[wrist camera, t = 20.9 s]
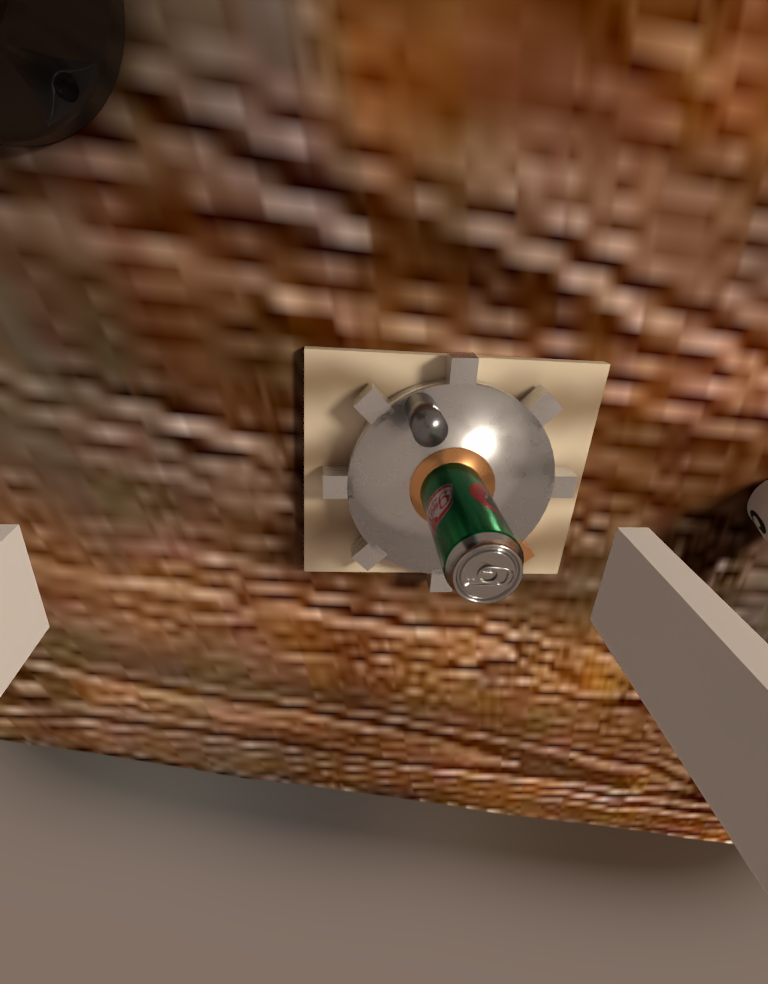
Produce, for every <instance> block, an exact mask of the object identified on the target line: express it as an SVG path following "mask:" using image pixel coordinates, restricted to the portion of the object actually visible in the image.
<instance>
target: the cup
mask: <svg viewBox="0 0 768 984" xmlns="http://www.w3.org/2000/svg"><path fill="white" fill-rule="evenodd" d="M747 512H748V515H749V516H750V518H751V520H752V521H753V523H754V524H755V526H756V527H757V529H758V530H759V532H760V533H761V535H762V536H763V537H764V538H765V539H766V540H767V542H768V480H766V481H765V482H763V483H762V484H760V485H759V486H758V487H757V488H756V489H755V490H754V492H753V493H752V494H751V496H750V498H749V500H748V504H747Z"/></svg>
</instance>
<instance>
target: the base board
mask: <svg viewBox="0 0 768 984" xmlns="http://www.w3.org/2000/svg"><path fill="white" fill-rule="evenodd" d="M446 356H447V353H428V352H409V351H390V350H371V349H352V348H333V347H313V346H305V348H304V571H311V572H417V571H413V570H410V569H406V568H404V567H401V566H399V565H396V564H394V563H393V562H391V561H389V560H387V559H386V558H383V559H382V560H381V561H379V562H378V563H377V564H376V565H375V566H373V567H372V568H371V569H370V570H369V571H367V570H366V569H364V568H363V567H362V566H361V565H360V564H358V563H357V562H356V561H355V560H354V559H352V558H351V545H352V544H353V543H354V542H355V541H356V540H358V539H359V538H360V537H361V536H362V535H361V534H360V532H359V530H358V529H357V527H356V525H355V523H354V520H353V518H352V515H351V512H350V508H349V504H348V499H323V466H347V465H348V460H349V456H350V452H351V449H352V446H353V444H354V441H355V439H356V437H357V435H358V434H359V432H360V430H361V428H362V427H363V425H364V424H365V423H366V421H367V420H366V419H365V418H364V417H363V416H362V415H361V414H360V413H359V412H358V411H357V410H356V409H355V408H354V407H353V398H355V397H356V396H357V395H358V394H359V393H360V392H361V391H362V390H363V389H364V388H365V387H366V386H367V385H368V384H369V383H370V382H372V383H373V384H374V385H375V386H376V387H377V388H378V389H379V390H380V391H381V392H382V393H383V394H384V395H385V396H386V397H387V398H388V399H390V398H391V397H393V396H395V395H396V394H398V393H399V392H401V391H403V390H405V389H407V388H409V387H412V386H414V385H416V384H420V383H423V382H426V381H429V380H435V379H440V378H445V367H446ZM476 356H477V357H478V358H479V364H478V373H477V380H480V381H484V382H487V383H490V384H493V385H495V386H498V387H499V388H501V389H503V390H505V391H507V392H509V393H510V394H511V395H513V396H514V397H515V398H516V399H518V400H519V401H521V400H522V399H523V398H524V397H526V396H527V395H528V394H529V393H530V392H531V391H533V390H534V389H535V388H536V387H537V386H538V385H541V386H542V387H544V388H545V389H546V390H548V391H549V392H550V393H551V395H552V396H553V397H554V398H555V400H556V401H557V402H558V403H559V405H560V406H561V407H562V409H563V410H562V411H561V412H560V413H559V414H557V415H556V416H555V417H554V418H553V419H551V420H550V421H549V422H548V423H547V424H545V425H544V426H543V428H544V430H545V432H546V434H547V436H548V438H549V440H550V443H551V447H552V450H553V455H554V461H555V467H569V468H570V469H571V470H572V471H573V472H574V473H575V474H576V475H577V476H578V479H577V483H576V488H575V492H574V497H573V498H550V501H549V503H548V506H547V508H546V510H545V512H544V514H543V516H542V518H541V519H540V521H539V523H538V524H537V525H536V527H535V528H534V529H533V531H532V532H531V533H530V534H529V535H528V536H527V537H526V539H525V541H526V542H527V543H528V545H529V547H530V548H531V550H532V552H533V553H534V555H535V556H534V557H532V558H531V559H530V560H528V561H527V562H526V563H524V565H523V573H530V574H557V572H558V568H559V564H560V560H561V556H562V552H563V548H564V545H565V541H566V537H567V533H568V529H569V525H570V521H571V517H572V513H573V509H574V505H575V501H576V497H577V494H578V490H579V486H580V482H581V478H582V474H583V470H584V466H585V462H586V458H587V454H588V450H589V446H590V442H591V439H592V435H593V431H594V427H595V423H596V419H597V415H598V411H599V407H600V403H601V399H602V395H603V391H604V387H605V384H606V380H607V376H608V372H609V368H610V364H608V363H606V362H601V361H582V360H563V359H544V358H524V357H505V356H486V355H476ZM420 573H422V572H420Z"/></svg>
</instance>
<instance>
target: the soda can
mask: <svg viewBox="0 0 768 984" xmlns="http://www.w3.org/2000/svg"><path fill="white" fill-rule="evenodd" d="M420 498H421V502H422V506H423V509H424V512H425V515H426V518H427V522H428V525H429V528H430V531H431V534H432V538H433V541H434V544H435V547H436V551H437V554H438V557H439V560H440V563H441V567H442V570H443V573H444V576H445V579H446V581H447V583H448V584H449V586H450V587H451V588H452V589H453V590H454V591H456V592H457V593H459V594H460V596H462V597H463V598H464V599H466V600H468V601H470V602H473V603H478V604H487V603H493V602H497V601H500V600H502V599H504V598H506V597H507V596H509V595H510V594H511V593H512V592H513V591H514V590H515V589H516V588H517V587H518V585H519V584H520V582H521V579H522V576H523V565H524V554H523V551H522V548H521V546H520V544H519V543H518V541H517V539H516V537H515V536H514V534H513V532H512V531H511V529H510V527H509V525H508V524H507V522H506V520H505V519H504V517H503V515H502V513H501V512H500V510H499V508H498V507H497V505H496V503H495V501H494V500H493V498H492V496H491V495H490V493H489V491H488V489H487V488H486V486H485V484H484V483H483V481H482V479H481V477H480V476H479V474H478V473H477V472H476V471H475V470H474V469H473V468H471V467H470V466H468V465H465V464H462V463H447V464H443V465H441V466H439V467H437V468H435V469H434V470H432V471H431V472H430V473H429V474H428V475H427V476H426V478H425V479H424V481H423V483H422V486H421V490H420Z"/></svg>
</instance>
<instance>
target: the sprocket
mask: <svg viewBox="0 0 768 984" xmlns="http://www.w3.org/2000/svg"><path fill="white" fill-rule="evenodd" d="M478 364H479V358H478V357H477V356H476V355H475V354H474V353H465V352H447V356H446V367H445V378H440V379H435V380H429V381H426V382H423V383H420V384H416V385H414V386H412V387H409V388H407V389H405V390H403V391H401V392H399V393H398V394H396V395H395V396H393V397H391V398H390V399H388V398H387V397H386V396H385V395H384V394H383V393H382V392H381V391H380V390H379V389H378V388H377V387H376V386H375V385H374V384H373V383H372V382H370V383H369V384H368V385H367V386H366V387H365V388H364V389H363V390H362V391H361V392H360V393H359V394H358V395H357V396H356V397H355V398H353V407H354V408H355V409H356V410H357V411H358V412H359V413H360V414H361V415H362V416H363V417H364V418H365V419H366V420H367V421H366V423H365V424H364V425H363V427H362V428H361V430H360V432H359V434H358V435H357V437H356V439H355V441H354V444H353V446H352V449H351V452H350V456H349V460H348V465H347V466H323V499H348V504H349V508H350V512H351V515H352V518H353V520H354V523H355V525H356V527H357V529H358V530H359V532H360V534H361V535H362V536H361V537H360V538H359V539H358V540H356V541H355V542H354V543H353V544H352V545H351V558H352V559H354V560H355V561H356V562H357V563H358V564H360V565H361V566H362V567H363V568H364V569H366V570H367V571H369V570H370V569H371V568H372V567H373V566H375V565H376V564H377V563H378V562H379V561H381V560H382V559H383V558H386V559H387V560H389V561H391V562H393V563H394V564H396V565H399V566H401V567H404V568H406V569H410V570H413V571H417V572H422V573H427V583H428V587H429V591H430V592H452V588H451V587H450V586H449V584H448V583H447V581H446V579H445V576H444V573H443V570H442V567H441V563H440V560H439V557H438V554H437V551H436V547H435V544H434V541H433V538H432V534H431V531H430V528H429V525H428V522H427V518H426V515H425V512H424V509H423V506H422V502H421V498H420V490H421V486H422V483H423V481H424V479H425V478H426V476H427V475H428V474H429V473H430V472H431V471H432V470H434V469H435V468H437V467H439V466H441V465H443V464H447V463H462V464H465V465H468V466H470V467H471V468H473V469H474V470H475V471H476V472H477V473H478V474H479V476H480V477H481V479H482V481H483V483H484V484H485V486H486V488H487V489H488V491H489V493H490V495H491V496H492V498H493V500H494V501H495V503H496V505H497V507H498V508H499V510H500V512H501V513H502V515H503V517H504V519H505V520H506V522H507V524H508V525H509V527H510V529H511V531H512V532H513V534H514V536H515V537H516V539H517V541H518V543H519V544H520V546H521V548H522V551H523V554H524V563H526V562H527V561H528V560H530V559H531V558H532V557H534V556H535V555H534V553H533V552H532V550H531V548H530V547H529V545H528V543H527V542H526V541H525V539H526V537H527V536H528V535H529V534H530V533H531V532H532V531H533V529H534V528H535V527H536V525H537V524H538V523H539V521H540V519H541V518H542V516H543V514H544V512H545V510H546V508H547V506H548V503H549V501H550V498H573V497H574V492H575V488H576V483H577V479H578V476H577V475H576V474H575V473H574V472H573V471H572V470H571V469H570V468H569V467H555V461H554V455H553V450H552V447H551V443H550V440H549V438H548V436H547V434H546V432H545V430H544V428H543V426H544V425H545V424H547V423H548V422H549V421H550V420H551V419H553V418H554V417H555V416H556V415H557V414H559V413H560V412H561V411H562V410H563V409H562V407H561V406H560V405H559V403H558V402H557V401H556V400H555V398H554V397H553V396H552V395H551V393H550V392H549V391H548V390H546V389H545V388H544V387H542V386H541V385H538V386H537V387H536V388H535V389H534V390H533V391H531V392H530V393H529V394H528V395H527V396H526V397H524V398H523V399H522V400H521V401H519V400H518V399H516V398H515V397H514V396H513V395H511V394H510V393H509V392H507V391H505V390H503V389H501V388H499V387H498V386H495V385H493V384H490V383H487V382H484V381H480V380H477V373H478Z"/></svg>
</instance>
